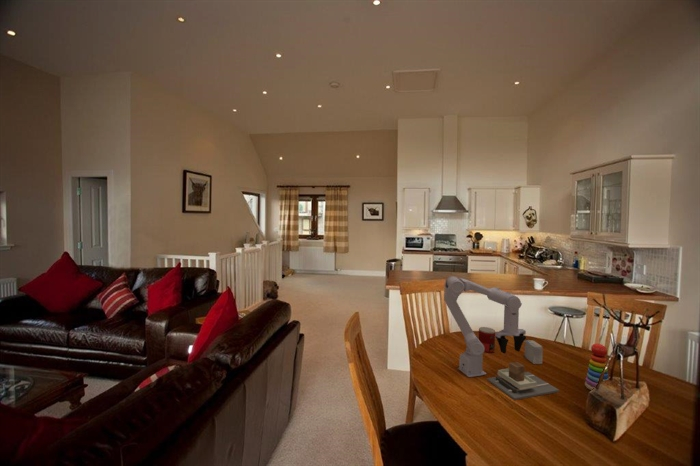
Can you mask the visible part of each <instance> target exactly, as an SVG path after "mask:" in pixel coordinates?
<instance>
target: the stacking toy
mask: <svg viewBox="0 0 700 466" xmlns="http://www.w3.org/2000/svg"><path fill="white" fill-rule="evenodd" d="M590 351H591V353H592V354H591V355H590V359H589V361H588V362H589V364H588V369H587V373H586V375H587V376H586V377H585V381H584V386H585V387H586V388H587V389H588V390H590V391H592V389H593V388H595V387H596V385H597V384H598V381H599V378H600V375H601V373H602V371H603V369H604V367H605V365H606V364H607V357H606V355H607V354H608V348H607V347H606V346H605V345H603V344H602V343H594V344H592V345H591V347H590ZM608 369H609V368H607V370H606V371H605V373H604V376H603V381H605V380H608V379H609V373H608V371H609V370H608ZM609 380H610V379H609Z"/></svg>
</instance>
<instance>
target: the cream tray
mask: <svg viewBox="0 0 700 466" xmlns="http://www.w3.org/2000/svg"><path fill="white" fill-rule="evenodd" d="M497 376H500V377H502V378H503V379H504V380H506V381H508V382H509V383H511V384H512V385H514V386H515V387H516V388H518V389H520V390H522V389H528V388H534V387H537V382H536V381H534V380H532V379H531V378H529V377H527V376H526V375H524V381H519V382H516V381H515V380H513V379H512V378H510V377H509V367H507V368H502V369H497Z"/></svg>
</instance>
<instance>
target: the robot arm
mask: <svg viewBox="0 0 700 466" xmlns="http://www.w3.org/2000/svg"><path fill="white" fill-rule="evenodd" d="M469 291H473V292H476V293H478V294H482V295H484V296H487V298H488V300H489V301H492V302H495V303H497V304H500V305H503V306H504V309H503V310H504V311H503V329H501V330H499V331H495V340H496V341H497V342H498V346H499V348H500V353H502V354H507V353H506V352H507V345H508V342H509V339H508V338H506V337H511V336H512V337H513V342H514V345H513V348H514V350H515V351H517V352H518V353H519V352H520V351H521V348H522V347H523V343H525V340H526V339H527V336H526V335H527V334H526V329H524V328H519V321H520V320H519V315H520V312H519V310H520V308H521V306H522V304H523V302H521V299H520V298H519V296H516V295H515V294H513V293H511V292H509V291H504V290H501V289H500V287H497V286H495V287H493V286H492V287H490V288H488V287H485V286H484V285H481V284H478V283H476V282H473V281H471V280H469V279H465V278H462V277H457V276H456V275H450V276H449V277H447V279H446V280H445V282H444V295H443V300H444V302H445V304H446V306H447V308H448V310H449V311H450V313H451V315H452V317H453V319H454V321H455V322H456V325H457V326H458V327H459V329H460V331H461V333H462V335H463V338H464V343H465V345H466V348H465V351H463V353H460V354H459V357H458V358H459V361H458V362H459V363H458V365H459V367H457V370H459V371H460V372H461V373H463V374H464V375H465V376H467V377H468V378H472V377H473V378H474V377H480V376H486V375H487V372H485V371H484V370H483V357H484V353H485V352H484V350H485V348H484V345H483V344H482V343H481V342H480V340H479V336H477V335H476V334H475V332H474V331H473V329H472V327H471V326H470V323H469V321H468V320H467V318H466V316H465V314H464V313H463V310H462V309H461V307H460V306H459V303H458V302H457V300H458V298H459V296H460V295H461V294H462V293H463V292H469Z"/></svg>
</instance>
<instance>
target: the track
mask: <svg viewBox="0 0 700 466" xmlns="http://www.w3.org/2000/svg"><path fill="white" fill-rule="evenodd" d="M524 375H526V376H527V377H529V378H531V379H532V380H534V381H536V382H537V387H534V388H528V389H522V390H520V389H518V388H516V387H515V386H514V385H512V384H511V383H509V382H508V381H506V380H504V379H503V378H502V377H500V376H499V375H497V376H492V377H487V378H486V380H487V382H489V383H491V384H492V385H494V386H495V388H497V389H499V390H500V391H502V392H503V393H504V394H505V395H507V396H508V397H509V398H511V399H513V400H514V401H518V400H523V399H527V398H533V397H539V396H544V395H549V394H556V393H559V392H560V389H558V388H557V387H556V386H553V385H551V384H550V383H548V382H547V381H545V380H543V379H541V378H540V377H538V376H536V375H534V374H533V373H531V372H530V371H525V374H524Z"/></svg>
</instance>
